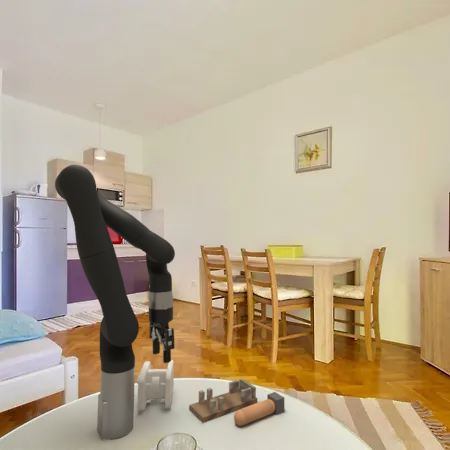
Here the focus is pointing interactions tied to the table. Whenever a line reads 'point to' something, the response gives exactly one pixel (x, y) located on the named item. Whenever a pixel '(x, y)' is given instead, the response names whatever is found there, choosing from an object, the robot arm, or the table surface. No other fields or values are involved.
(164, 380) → the cable organizer
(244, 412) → the tan rounded rod
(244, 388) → the brown pegged board
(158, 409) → the table surface
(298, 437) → the table surface
